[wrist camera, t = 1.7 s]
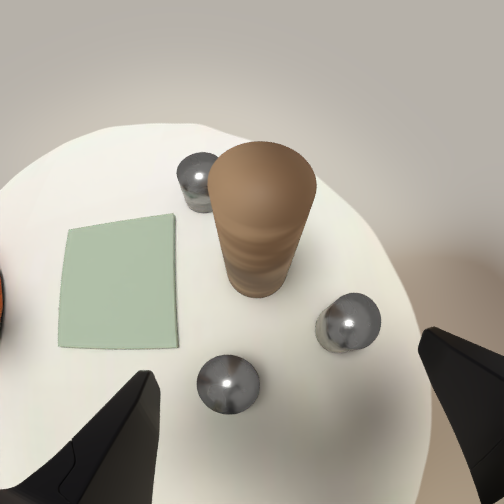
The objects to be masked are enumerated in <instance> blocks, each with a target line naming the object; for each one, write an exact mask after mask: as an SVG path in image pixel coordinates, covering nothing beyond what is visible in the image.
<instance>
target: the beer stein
mask: <svg viewBox="0 0 504 504" xmlns="http://www.w3.org/2000/svg"><path fill="white" fill-rule="evenodd" d="M2 309H3V294H2V280H1V276H0V327H1V316H2Z"/></svg>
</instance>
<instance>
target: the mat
mask: <svg viewBox="0 0 504 504" xmlns="http://www.w3.org/2000/svg"><path fill="white" fill-rule="evenodd" d="M58 346H59V347H69V348H90V349H163V348H178V334H177V317H176V294H175V215H174V213H172V214H165V215H157V216H150V217H143V218H137V219H130V220H123V221H117V222H111V223H105V224H99V225H93V226H87V227H82V228H76V229H71V230H69V231H68V237H67V242H66V249H65V255H64V262H63V270H62V278H61V288H60V301H59V319H58Z"/></svg>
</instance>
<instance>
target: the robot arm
mask: <svg viewBox="0 0 504 504" xmlns="http://www.w3.org/2000/svg"><path fill="white" fill-rule="evenodd" d="M418 353H419V355H420V358H421V360H422V363H423V365H424V367H425V370H426V372H427V375H428V377H429V380H430V382H431V385H432V387H433V389H434V391H435V393H436V395H437V397H438V399H439V401H440V403H441V405H442V407H443V409H444V411H445V413H446V415H447V418H448V420H449V422H450V424H451V426H452V428H453V430H454V433H455V435H456V437H457V440H458V442H459V444H460V447H461V449H462V452H463V454H464V457H465V459H466V462H467V464H468V467H469V469H470V472H471V475H472V478H473V481H474V484H475V486H476V489H477V492H478V496H479V499H480V502H481V504H494V503H495V502H497V501H499V500H500V499H502V498H503V497H504V356H502V355H500V354H498V353H495V352H493V351H491V350H488V349H486V348H483V347H481V346H479V345H477V344H474V343H472V342H469V341H467V340H465V339H462V338H460V337H458V336H455V335H453V334H451V333H448V332H446V331H444V330H441V329H439V328H437V327H430V328H427V329H425V330H424V331H423V333H422V337H421V340H420V343H419V346H418ZM159 429H160V388H159V385H158V383H157V381H156V379H155V376H154V374H153V372H152V371H150V370H140V371H138V372H137V373H136V374H135V375H134V376H133V377H132V378H131V379H130V380H129V381H128V382H127V383H126V384H125V385H124V386H123V387H122V388H121V389H120V390H119V391H118V392H117V393H116V394H115V395H114V396H113V397H112V398H111V399H110V400H109V401H108V402H107V403H106V404H105V406H104V407H103V408H102V409H101V410H100V411H99V412H98V413H97V414H96V415H95V416H94V417H93V418H92V419H91V420H90V421H89V422H88V423H87V424H86V425H85V426H84V427H83V428H82V429H81V430H80V431H79V432H78V433H77V434H76V435H75V436H74V437H73V438H72V441H71V440H70V441H69V442H68V443H67V444H66V445H65V446H64V447H63V448H62V449H61V450H60V451H59V452H58V453H57V454H56V455H55V456H54V457H53V458H51V459H50V460H49V461H48V462H47V463H46V464H44V465H43V466H42V467H41V468H39V469H38V470H37V471H36V472H34V473H33V474H32V475H30V476H29V477H28V478H27V479H25V480H24V481H23V482H21V483H20V484H18V485H17V486H15V487H12V488H9V489H1V490H0V504H152V494H153V484H154V474H155V465H156V457H157V449H158V442H159Z"/></svg>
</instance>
